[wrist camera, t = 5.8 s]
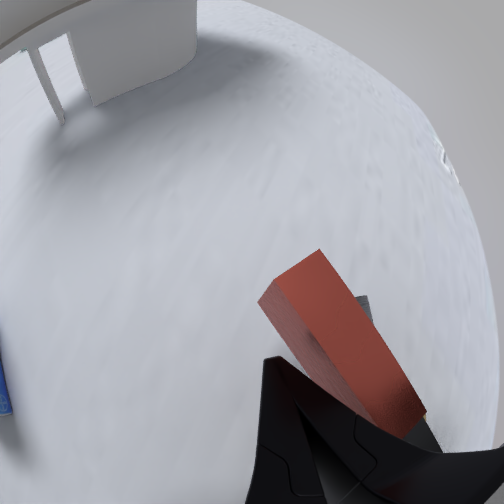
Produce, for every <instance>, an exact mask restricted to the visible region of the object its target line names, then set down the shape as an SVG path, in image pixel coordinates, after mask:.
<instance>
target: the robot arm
mask: <svg viewBox="0 0 504 504" xmlns="http://www.w3.org/2000/svg"><path fill="white" fill-rule="evenodd" d="M245 504H504V443H503V444H502V445H501V446H500V447H499V448H497V449H493V450H485V451H474V452H459V453H438V452H432V451H428V450H425V449H423V448H420V447H418V446H416V445H413V444H411V443H409V442H407V441H405V440H403V439H400V438H398V437H396V436H394V435H392V434H390V433H388V432H386V431H384V430H382V429H381V428H379V427H377V426H376V425H374V424H372V423H371V422H369V421H368V420H366V419H365V418H363V417H362V416H360V415H359V414H356V412H355V411H353V410H352V409H350V408H349V407H347V406H346V405H345V404H343V403H342V402H340V401H339V400H338V399H336V398H335V397H334V396H332V395H331V394H329V393H328V392H327V391H325V390H324V389H323V388H321V387H320V386H319V385H317V384H316V383H315V382H313V381H312V380H311V379H309V378H308V377H307V376H306V375H304V374H303V373H302V372H300V371H299V370H298V369H297V368H295V367H294V366H293V365H291V364H290V363H289V362H288V361H286V360H285V359H284V358H283V357H281V356H275V357H271V358H266V359H264V361H263V375H262V388H261V401H260V414H259V426H258V437H257V447H256V457H255V465H254V471H253V475H252V480H251V484H250V488H249V491H248V494H247V498H246V501H245Z"/></svg>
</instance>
